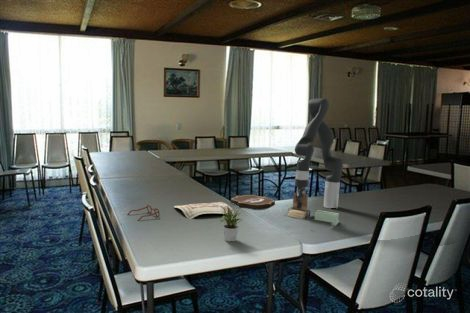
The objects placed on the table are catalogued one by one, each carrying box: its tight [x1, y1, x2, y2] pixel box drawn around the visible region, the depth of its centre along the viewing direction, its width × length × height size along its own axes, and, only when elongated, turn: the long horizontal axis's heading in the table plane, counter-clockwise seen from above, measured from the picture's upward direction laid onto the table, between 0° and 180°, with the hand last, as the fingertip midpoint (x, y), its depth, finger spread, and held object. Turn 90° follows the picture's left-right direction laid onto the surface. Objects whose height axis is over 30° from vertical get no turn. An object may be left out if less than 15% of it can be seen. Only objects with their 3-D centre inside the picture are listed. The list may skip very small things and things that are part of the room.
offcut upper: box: [287, 210, 306, 216], centre depth 213 cm, size 5×9×2 cm, turn 68°
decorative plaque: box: [230, 194, 276, 210], centre depth 246 cm, size 30×3×30 cm
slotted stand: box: [313, 209, 340, 227], centre depth 211 cm, size 8×12×6 cm, turn 64°
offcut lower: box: [288, 214, 306, 220], centre depth 214 cm, size 5×9×2 cm, turn 64°
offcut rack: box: [282, 206, 313, 221], centre depth 216 cm, size 12×14×4 cm
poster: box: [173, 201, 236, 220], centre depth 219 cm, size 28×6×30 cm
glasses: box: [126, 204, 161, 222], centre depth 202 cm, size 13×13×5 cm
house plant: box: [217, 205, 246, 242], centre depth 171 cm, size 14×14×16 cm
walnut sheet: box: [292, 192, 309, 211], centre depth 218 cm, size 2×8×12 cm, turn 64°
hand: (299, 207), depth 218 cm, fingers open, 3 cm apart
